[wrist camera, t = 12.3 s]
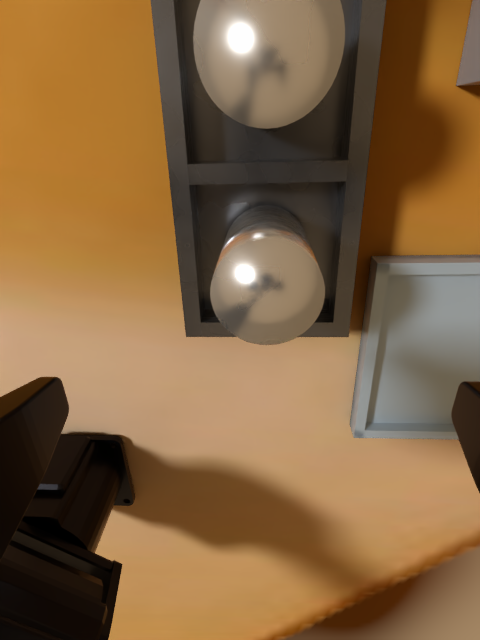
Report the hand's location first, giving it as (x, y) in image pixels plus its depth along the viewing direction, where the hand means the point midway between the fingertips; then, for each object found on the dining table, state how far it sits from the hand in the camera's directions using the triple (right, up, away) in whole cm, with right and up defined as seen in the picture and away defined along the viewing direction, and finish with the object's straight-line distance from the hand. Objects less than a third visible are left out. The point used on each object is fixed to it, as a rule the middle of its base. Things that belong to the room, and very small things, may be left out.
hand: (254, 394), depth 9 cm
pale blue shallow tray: (+11, 0, +13) cm, 17 cm away
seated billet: (+1, +12, +7) cm, 14 cm away
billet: (+1, +5, +10) cm, 11 cm away
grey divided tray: (+1, +9, +9) cm, 13 cm away
